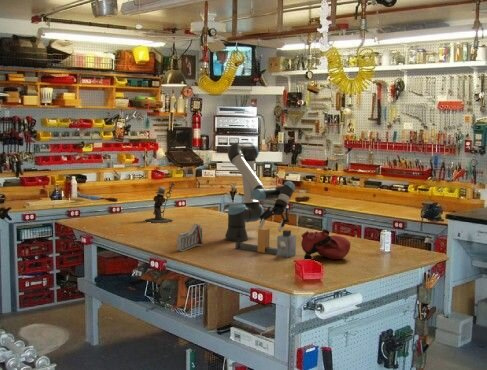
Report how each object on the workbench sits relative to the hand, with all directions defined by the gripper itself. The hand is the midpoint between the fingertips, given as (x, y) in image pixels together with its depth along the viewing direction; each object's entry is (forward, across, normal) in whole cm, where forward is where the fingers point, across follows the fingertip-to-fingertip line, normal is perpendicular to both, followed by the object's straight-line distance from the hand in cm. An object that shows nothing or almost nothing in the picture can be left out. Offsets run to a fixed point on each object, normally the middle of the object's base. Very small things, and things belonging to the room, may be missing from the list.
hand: (269, 229), depth 375 cm
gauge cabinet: (+14, +15, +5) cm, 21 cm away
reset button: (+7, +16, -2) cm, 17 cm away
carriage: (+13, -1, +5) cm, 14 cm away
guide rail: (+13, -4, +5) cm, 15 cm away
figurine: (-20, -124, +37) cm, 131 cm away
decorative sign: (+27, -42, -9) cm, 51 cm away
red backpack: (+10, +37, +10) cm, 40 cm away
